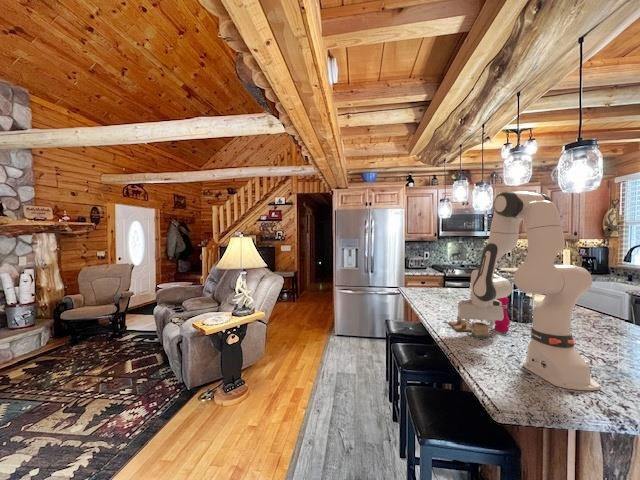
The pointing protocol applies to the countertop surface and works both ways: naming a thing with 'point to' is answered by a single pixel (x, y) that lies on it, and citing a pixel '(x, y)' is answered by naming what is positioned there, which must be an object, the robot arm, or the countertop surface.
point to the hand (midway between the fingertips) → (479, 328)
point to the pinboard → (460, 325)
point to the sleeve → (480, 329)
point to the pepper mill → (505, 322)
